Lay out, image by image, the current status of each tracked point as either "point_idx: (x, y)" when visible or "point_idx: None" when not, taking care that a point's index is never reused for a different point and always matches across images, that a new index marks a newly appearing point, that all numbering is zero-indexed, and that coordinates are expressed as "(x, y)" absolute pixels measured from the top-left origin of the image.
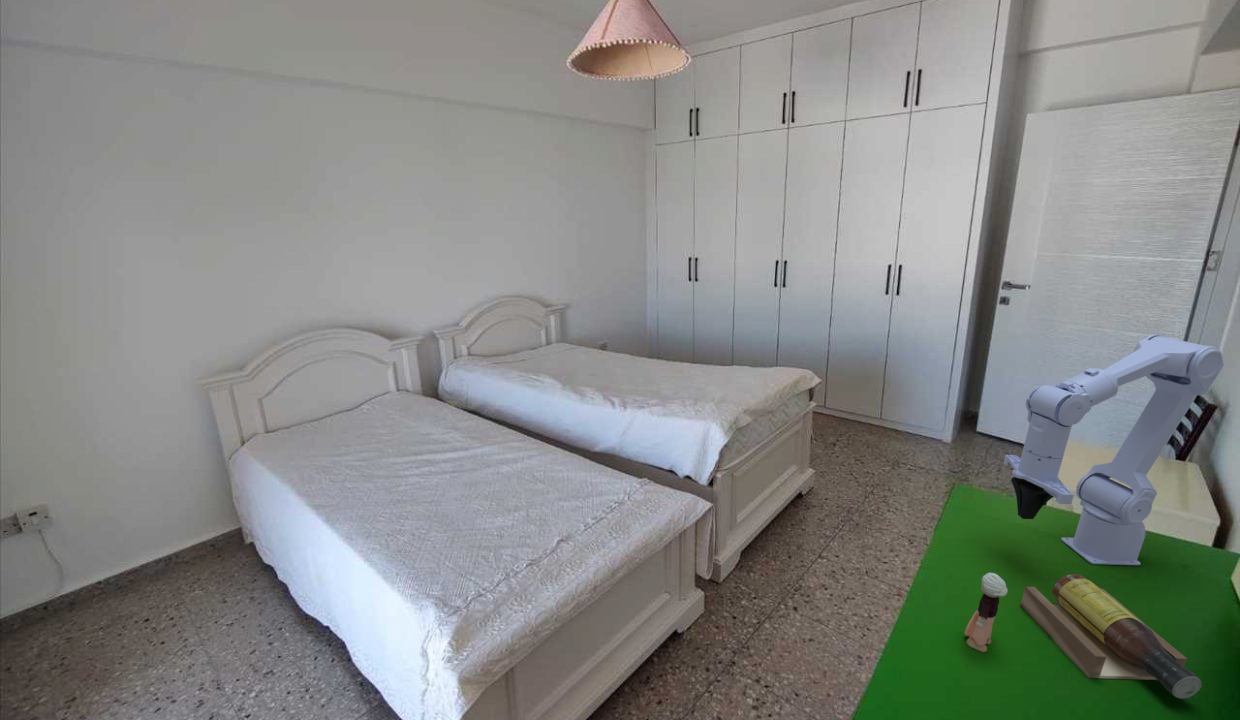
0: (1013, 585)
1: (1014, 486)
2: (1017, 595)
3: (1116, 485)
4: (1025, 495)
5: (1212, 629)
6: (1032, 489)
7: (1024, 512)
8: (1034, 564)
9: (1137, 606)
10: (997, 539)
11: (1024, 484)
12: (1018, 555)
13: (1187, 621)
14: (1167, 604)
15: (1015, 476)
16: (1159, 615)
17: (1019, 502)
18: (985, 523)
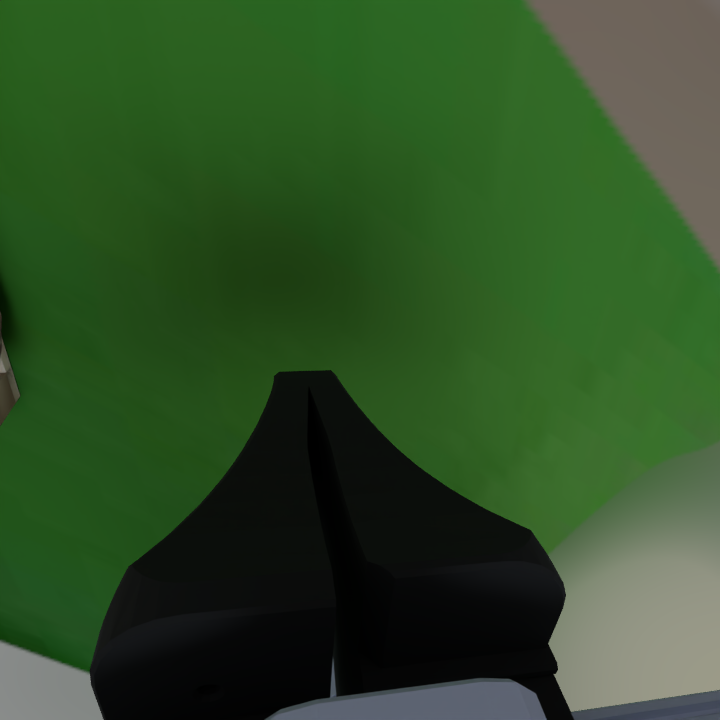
0: (106, 137)
1: (452, 507)
2: (16, 99)
3: None
4: (235, 517)
5: (8, 621)
6: (135, 673)
7: (267, 404)
8: (287, 341)
9: (73, 518)
10: (463, 298)
11: (303, 643)
12: (348, 315)
13: (29, 591)
14: (107, 589)
15: (368, 694)
16: (38, 546)
17: (337, 429)
18: (573, 320)
